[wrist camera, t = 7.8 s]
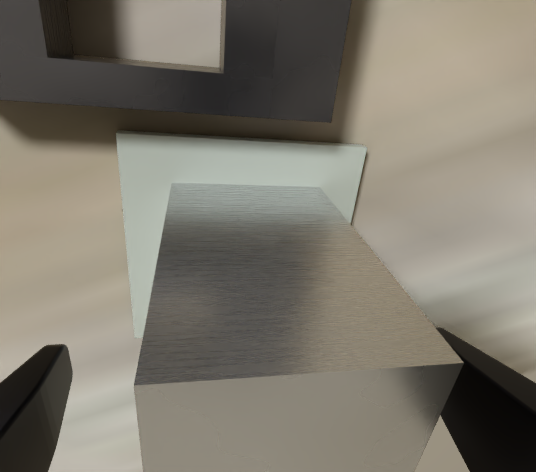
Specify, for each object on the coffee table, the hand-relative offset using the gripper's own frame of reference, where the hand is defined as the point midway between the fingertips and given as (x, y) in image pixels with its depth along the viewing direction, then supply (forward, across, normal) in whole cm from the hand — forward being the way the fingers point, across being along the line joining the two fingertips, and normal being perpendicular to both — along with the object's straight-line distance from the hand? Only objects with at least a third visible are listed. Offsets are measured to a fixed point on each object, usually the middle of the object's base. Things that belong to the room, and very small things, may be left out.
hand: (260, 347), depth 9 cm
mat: (+5, 0, 0) cm, 5 cm away
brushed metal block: (+5, 0, 0) cm, 5 cm away
